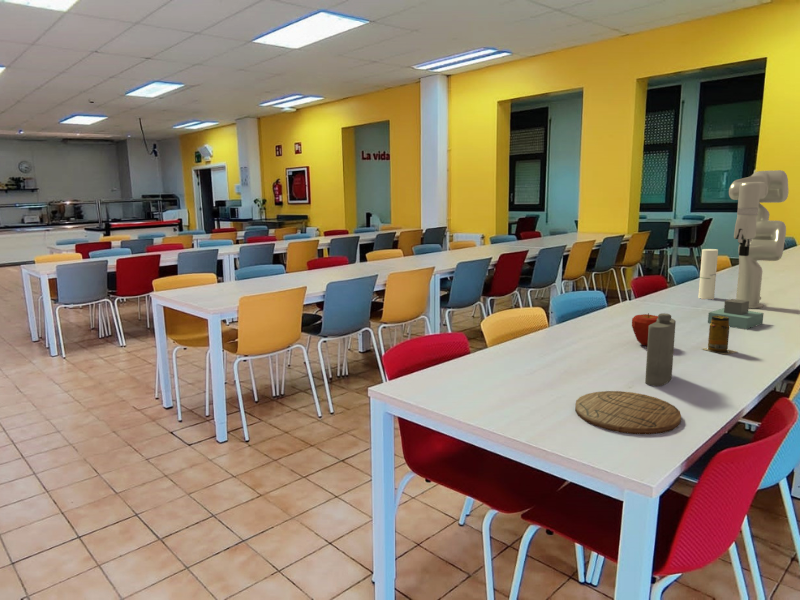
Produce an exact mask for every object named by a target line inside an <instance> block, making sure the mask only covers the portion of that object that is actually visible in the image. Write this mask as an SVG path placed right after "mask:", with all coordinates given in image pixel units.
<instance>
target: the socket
mask: <svg viewBox="0 0 800 600" xmlns="http://www.w3.org/2000/svg"><path fill="white" fill-rule="evenodd" d="M707 316H708V317H707V324H711V323H712V322H711V321H712V316H725V317H728V318H729V326H731V327H730V328H735V327H737V328H736V329H741V328H744V329H743V330H748V329H747V328H749V329H751V328H754V327H757V326H759V324H760V325H762V323H764V312H759V311H752V310H748V313H746V314H743V315H736V314H730V313H724V307H723V308H720V309H716V310H712V311H709V312H708V315H707ZM756 325H757V326H756ZM753 326H754V327H753ZM750 327H751V328H750Z"/></svg>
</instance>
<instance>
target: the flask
mask: <svg viewBox="0 0 800 600" xmlns="http://www.w3.org/2000/svg"><path fill="white" fill-rule="evenodd" d="M657 316H658V318H657V321H656V322H655V323H653V324H650V325H649V329H648V346H647V345H646V346H647V347H646V349H647V350H646V364H645V366H646V367H645V380H644V381H645V384H646V385H648V386H652V387H662V386H665V385H666V384H668V383H669V382H671V380H672V378H673V363H674V352H675V350H674V349H675V338H676V337H675V335H676V322H677V321H676V320H675V319H674V318H672V315H671V314H669V313H666V312H664V313H659V314H658V315H657Z"/></svg>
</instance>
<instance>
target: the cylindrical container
mask: <svg viewBox="0 0 800 600" xmlns="http://www.w3.org/2000/svg"><path fill="white" fill-rule="evenodd" d="M718 255H719V249H715V248H703V249H701V259H700V260H701V261H700V272H699V285H698V299H699V298H701V299H700V300H705V299H712V300H715V291H716V282H717V281H716V279H717V270H718V269H717V266H718V257H719V256H718Z"/></svg>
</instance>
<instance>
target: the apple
mask: <svg viewBox="0 0 800 600" xmlns="http://www.w3.org/2000/svg"><path fill="white" fill-rule="evenodd" d="M657 318H658V315H655V314H654V315H653V314H650V313H647V314H645V313H644V314H636V315H634V316H633V317H632V318H631V328H632V331H633V333H634V335H635V338H636V340H637V342H638V343H639V344H641V345H642V346H648V329H649V325H650V324H653V323H655V322H656V321H657Z"/></svg>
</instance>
